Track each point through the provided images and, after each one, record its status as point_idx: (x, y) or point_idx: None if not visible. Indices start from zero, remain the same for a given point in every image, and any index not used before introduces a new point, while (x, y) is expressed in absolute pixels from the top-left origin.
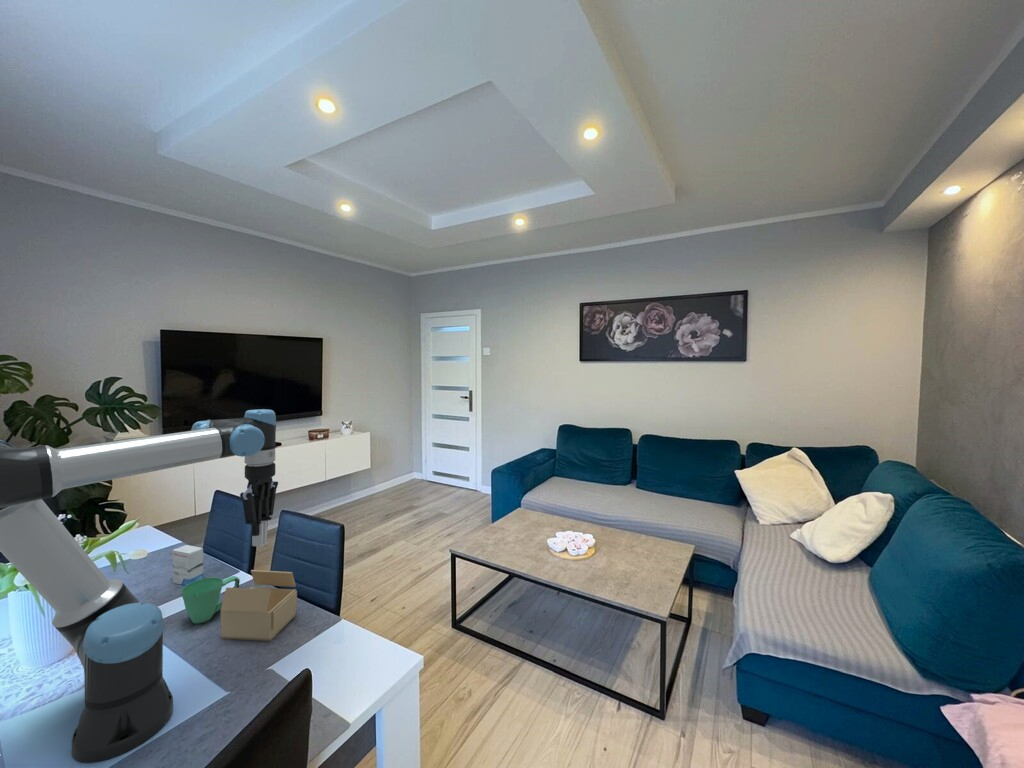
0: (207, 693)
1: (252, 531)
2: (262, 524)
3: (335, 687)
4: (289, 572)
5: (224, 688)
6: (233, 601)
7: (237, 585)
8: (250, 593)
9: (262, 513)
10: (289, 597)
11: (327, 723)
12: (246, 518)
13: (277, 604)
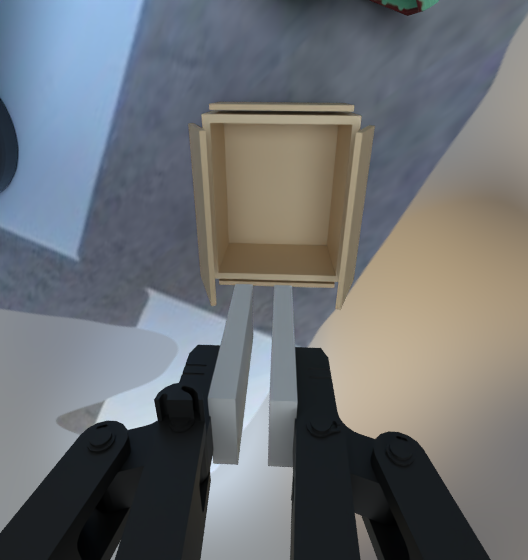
0: (61, 220)
1: (184, 374)
2: (227, 455)
3: (136, 405)
4: (339, 300)
5: (81, 243)
6: (195, 170)
7: (412, 7)
8: (204, 235)
9: (292, 514)
10: (295, 285)
11: (77, 418)
12: (37, 505)
13: (254, 274)
